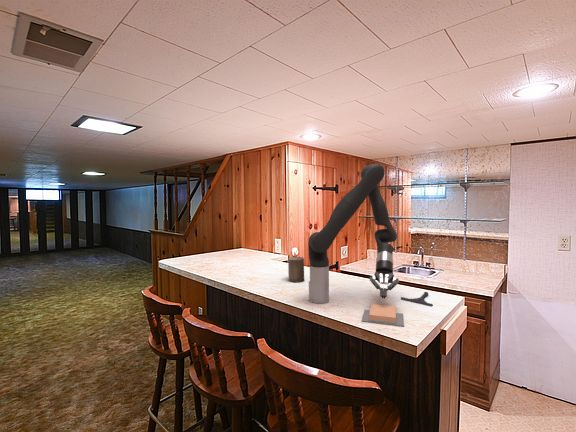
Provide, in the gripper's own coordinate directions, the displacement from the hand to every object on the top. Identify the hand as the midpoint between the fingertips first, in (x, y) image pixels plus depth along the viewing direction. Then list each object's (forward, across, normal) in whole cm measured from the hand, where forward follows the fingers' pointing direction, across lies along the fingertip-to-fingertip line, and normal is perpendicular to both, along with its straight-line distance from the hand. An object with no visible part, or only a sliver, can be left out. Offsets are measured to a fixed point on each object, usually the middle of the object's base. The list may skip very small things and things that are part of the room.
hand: (383, 297), depth 129 cm
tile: (+2, 0, +5) cm, 6 cm away
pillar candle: (-22, -52, +33) cm, 65 cm away
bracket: (-12, +17, +23) cm, 31 cm away
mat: (+9, 0, +1) cm, 9 cm away
